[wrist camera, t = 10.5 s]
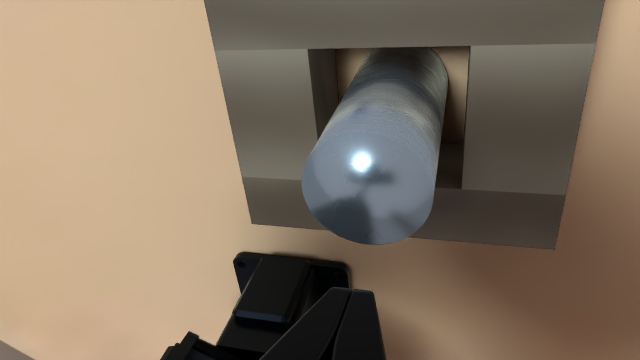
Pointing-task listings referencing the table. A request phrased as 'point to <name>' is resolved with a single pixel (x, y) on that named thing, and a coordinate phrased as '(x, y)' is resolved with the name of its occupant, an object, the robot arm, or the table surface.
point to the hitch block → (454, 158)
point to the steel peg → (380, 149)
